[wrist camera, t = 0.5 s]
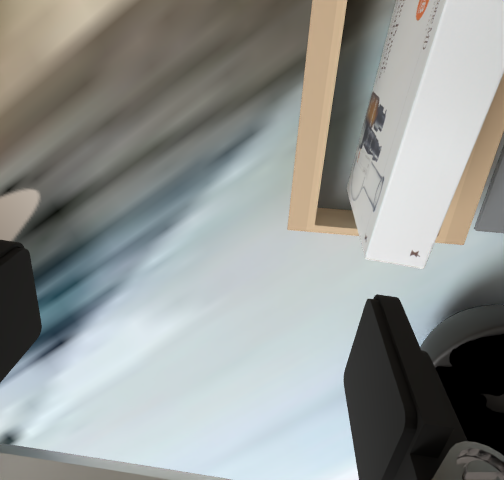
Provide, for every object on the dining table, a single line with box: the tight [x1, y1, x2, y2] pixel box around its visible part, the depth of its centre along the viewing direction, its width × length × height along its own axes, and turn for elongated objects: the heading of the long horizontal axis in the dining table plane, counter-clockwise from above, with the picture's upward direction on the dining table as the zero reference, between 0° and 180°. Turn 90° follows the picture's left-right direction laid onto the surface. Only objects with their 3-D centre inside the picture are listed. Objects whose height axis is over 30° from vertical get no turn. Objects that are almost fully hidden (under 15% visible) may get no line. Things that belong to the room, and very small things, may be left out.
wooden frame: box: [287, 0, 504, 245], centre depth 38 cm, size 27×19×5 cm
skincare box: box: [346, 0, 504, 269], centre depth 33 cm, size 21×5×16 cm, turn 173°
